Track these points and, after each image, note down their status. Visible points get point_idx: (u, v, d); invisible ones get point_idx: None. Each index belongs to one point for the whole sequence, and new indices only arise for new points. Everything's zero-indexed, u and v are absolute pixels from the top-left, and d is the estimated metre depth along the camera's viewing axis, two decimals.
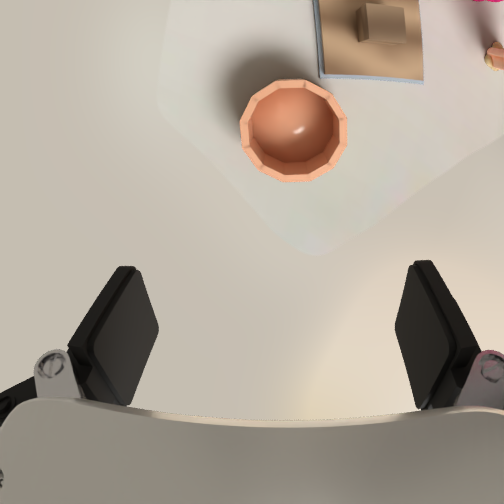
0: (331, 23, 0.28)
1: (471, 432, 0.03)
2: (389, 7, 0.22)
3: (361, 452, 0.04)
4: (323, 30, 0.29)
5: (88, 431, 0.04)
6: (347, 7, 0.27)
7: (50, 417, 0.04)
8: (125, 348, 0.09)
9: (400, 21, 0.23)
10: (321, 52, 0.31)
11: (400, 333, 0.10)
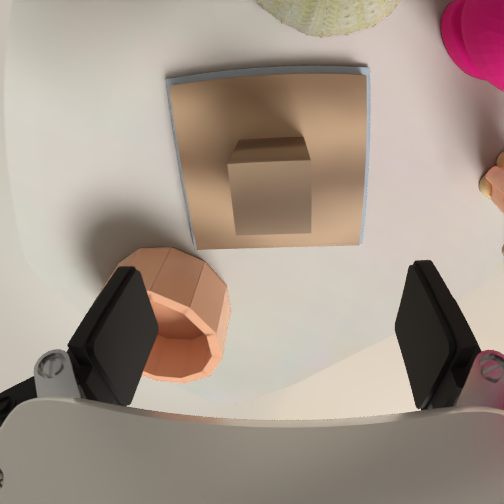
0: (198, 169, 0.21)
1: (471, 432, 0.03)
2: (278, 165, 0.15)
3: (361, 452, 0.04)
4: (186, 182, 0.21)
5: (88, 431, 0.04)
6: (225, 135, 0.19)
7: (50, 417, 0.04)
8: (125, 348, 0.09)
9: (301, 192, 0.16)
10: None
11: (400, 333, 0.10)
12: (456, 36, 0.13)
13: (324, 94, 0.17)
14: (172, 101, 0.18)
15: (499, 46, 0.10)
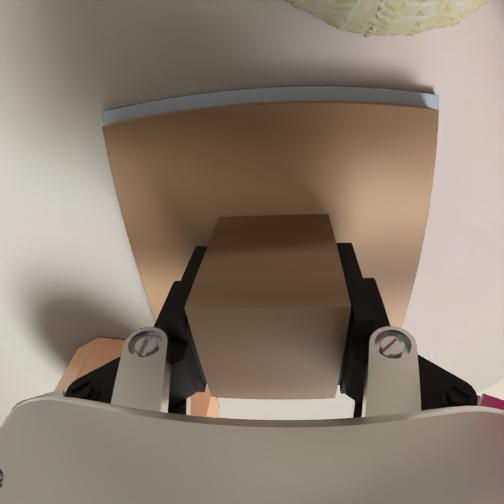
0: (157, 259, 0.13)
1: (471, 432, 0.03)
2: (284, 314, 0.08)
3: (360, 452, 0.04)
4: (143, 275, 0.14)
5: (88, 431, 0.04)
6: (196, 208, 0.12)
7: (49, 416, 0.04)
8: None
9: (324, 353, 0.08)
10: None
11: None
12: None
13: (368, 142, 0.10)
14: (109, 152, 0.11)
15: None
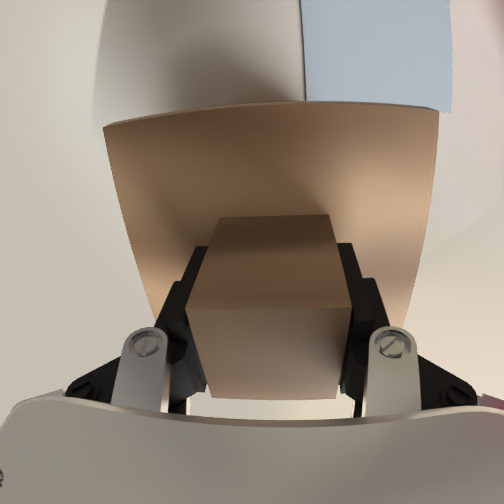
0: (158, 259, 0.13)
1: (471, 432, 0.03)
2: (285, 315, 0.08)
3: (360, 451, 0.04)
4: (144, 275, 0.14)
5: (88, 431, 0.04)
6: (197, 209, 0.12)
7: (50, 416, 0.04)
8: None
9: (325, 353, 0.08)
10: (309, 64, 0.22)
11: None
12: None
13: (369, 143, 0.10)
14: (109, 152, 0.11)
15: None
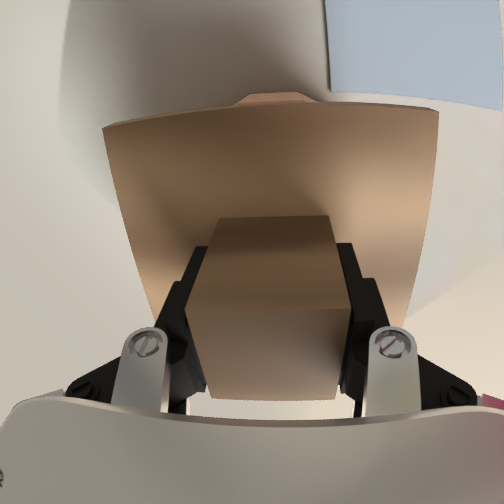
0: (158, 260, 0.13)
1: (471, 432, 0.03)
2: (284, 316, 0.08)
3: (360, 452, 0.04)
4: (144, 276, 0.14)
5: (88, 431, 0.04)
6: (196, 210, 0.12)
7: (50, 416, 0.04)
8: None
9: (324, 354, 0.08)
10: (334, 42, 0.16)
11: None
12: None
13: (369, 144, 0.10)
14: (109, 153, 0.11)
15: None
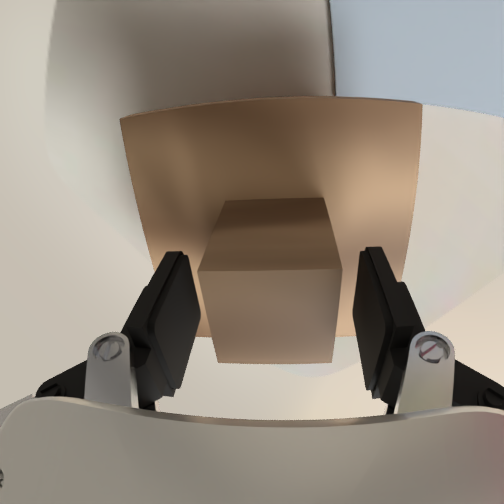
0: (168, 240, 0.15)
1: (471, 432, 0.03)
2: (285, 276, 0.09)
3: (360, 452, 0.04)
4: (154, 256, 0.15)
5: (88, 431, 0.04)
6: (204, 193, 0.13)
7: (50, 416, 0.04)
8: (177, 331, 0.10)
9: (321, 314, 0.09)
10: (340, 43, 0.14)
11: (355, 318, 0.11)
12: None
13: (359, 133, 0.11)
14: (125, 141, 0.12)
15: None
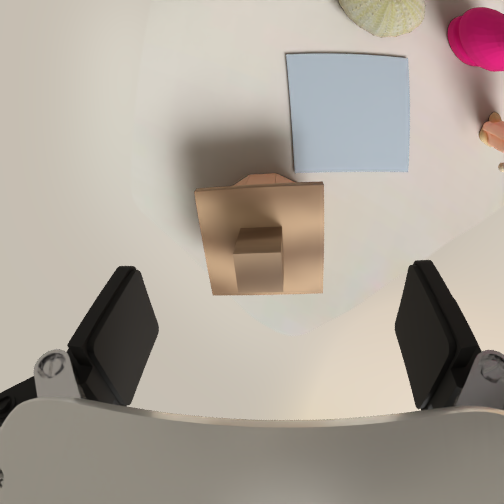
0: (214, 245, 0.33)
1: (471, 432, 0.03)
2: (262, 255, 0.27)
3: (360, 452, 0.04)
4: (206, 253, 0.33)
5: (88, 431, 0.04)
6: (231, 225, 0.31)
7: (50, 417, 0.04)
8: (125, 348, 0.09)
9: (275, 269, 0.28)
10: (296, 143, 0.33)
11: (400, 333, 0.10)
12: (457, 39, 0.23)
13: (295, 199, 0.30)
14: (196, 202, 0.31)
15: (479, 41, 0.19)
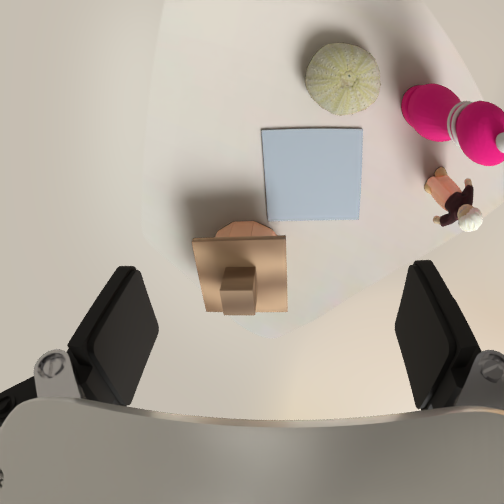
0: (206, 278, 0.45)
1: (471, 432, 0.03)
2: (239, 292, 0.39)
3: (360, 451, 0.04)
4: (201, 283, 0.45)
5: (88, 431, 0.04)
6: (219, 265, 0.43)
7: (50, 416, 0.04)
8: (125, 348, 0.09)
9: (249, 301, 0.40)
10: (269, 200, 0.44)
11: (400, 333, 0.10)
12: (407, 111, 0.34)
13: (265, 249, 0.41)
14: (193, 248, 0.42)
15: (422, 122, 0.30)
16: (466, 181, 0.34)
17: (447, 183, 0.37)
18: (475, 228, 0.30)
